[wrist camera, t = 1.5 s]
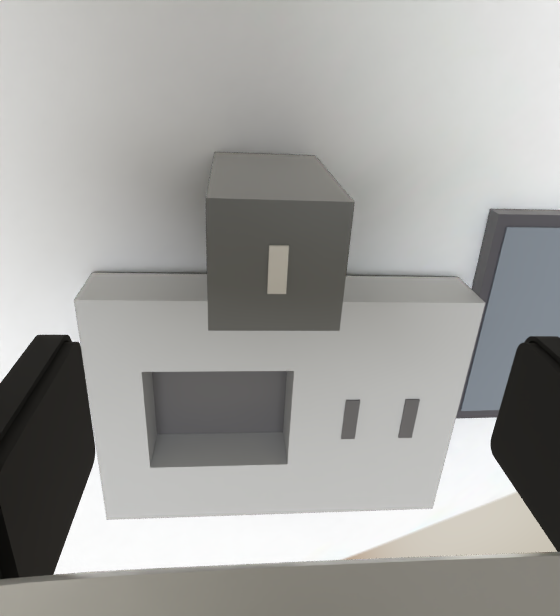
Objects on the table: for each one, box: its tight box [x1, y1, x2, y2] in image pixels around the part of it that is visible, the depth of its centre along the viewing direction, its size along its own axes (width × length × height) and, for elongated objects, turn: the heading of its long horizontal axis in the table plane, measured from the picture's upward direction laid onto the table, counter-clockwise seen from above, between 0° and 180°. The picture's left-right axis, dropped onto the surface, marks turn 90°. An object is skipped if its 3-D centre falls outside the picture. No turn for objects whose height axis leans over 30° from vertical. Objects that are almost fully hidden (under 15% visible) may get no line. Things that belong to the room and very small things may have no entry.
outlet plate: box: [74, 273, 485, 520], centre depth 26 cm, size 13×18×3 cm
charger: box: [206, 152, 354, 331], centre depth 19 cm, size 4×4×8 cm
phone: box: [456, 209, 560, 418], centre depth 27 cm, size 12×6×1 cm, turn 178°
